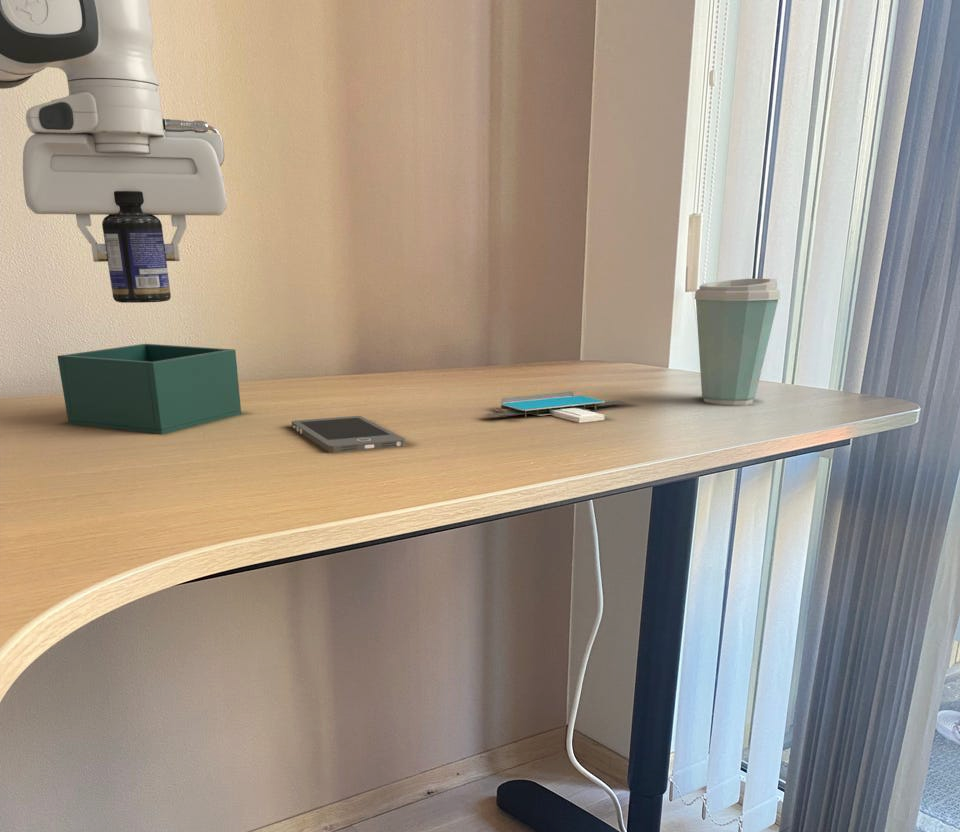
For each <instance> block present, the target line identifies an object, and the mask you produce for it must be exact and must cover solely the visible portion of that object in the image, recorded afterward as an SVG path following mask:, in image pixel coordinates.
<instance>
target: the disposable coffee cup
mask: <svg viewBox="0 0 960 832" xmlns="http://www.w3.org/2000/svg"><path fill="white" fill-rule="evenodd" d="M693 299H694V300H695V309H696V322H697V325H696V326H697V340H698V353H699V354H698V355H699V372H700V386H701V397H703V402H705V403H707V404H713V405H720V406H747V405H751V404H753V401H754V399H755V398H756V395H757V391H758V387H759V383H760V378H761V375H762V374H761V373H762V370H763V366H764V361H765V356H766V353H767V349H768V344H769V341H770V336H771V332H772V328H773V323H774V321H775V320H774V319H775V316H776V311H777V307H778V302H779V300H781V290H780V289H779V288H778V279H777V278H741V279H739V278H738V279H729V280H721V281H713V282H708V283H702V284H700V285H699V288H698V289H696V290H695V292H694V298H693Z"/></svg>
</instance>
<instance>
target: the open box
mask: <svg viewBox="0 0 960 832" xmlns="http://www.w3.org/2000/svg"><path fill="white" fill-rule="evenodd" d="M57 363H58V369H59V374H60V375H59V376H60V380H61V386H62V392H63V398H64V404H65V405H64V406H65V411H66V416H67V423H68V425H75V426H83V427H84V426H85V427H94V428H103V429H111V430H121V431H129V432H130V431H131V432H138V433H146V434H148V433H149V434H156V435H165V434H168V433H172V432H176V431H180V430H184V429H189V428H192V427H196V426H199V425H200V426H201V425H204V424H208V423H211V422H216V421H220V420H223V419H228V418H231V417H236V416H239V415H242V406H241V405H242V404H241V396H240V384H239V374H238V365H237V354H236V349H232V348H230V349H229V348H219V347H217V348H216V347H204V346H203V347H202V346H188V345H187V346H186V345H171V344H156V343H139V344H133V345H132V344H131V345H126V346H119V347H111V348H104V349H103V348H102V349H96V350H89V351H81V352H75V353H68V354H61V355H57Z"/></svg>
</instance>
